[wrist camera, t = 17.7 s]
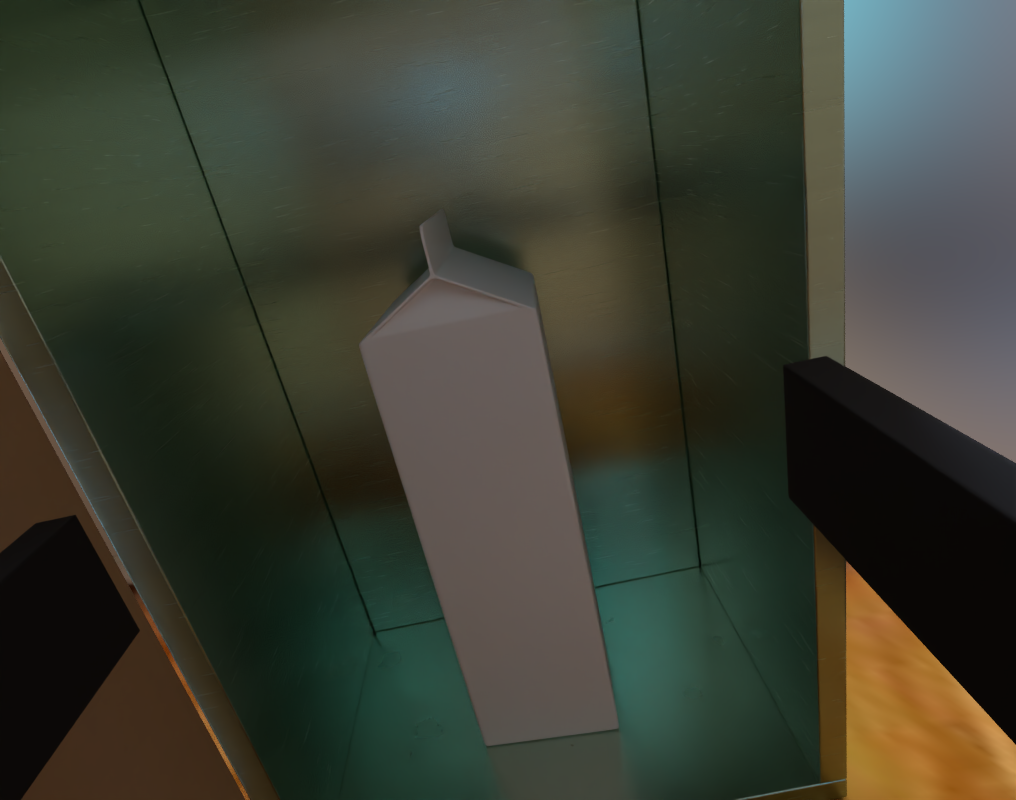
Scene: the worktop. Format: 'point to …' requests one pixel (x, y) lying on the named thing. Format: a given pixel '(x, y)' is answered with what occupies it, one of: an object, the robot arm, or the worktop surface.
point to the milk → (493, 491)
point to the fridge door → (136, 677)
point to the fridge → (365, 298)
